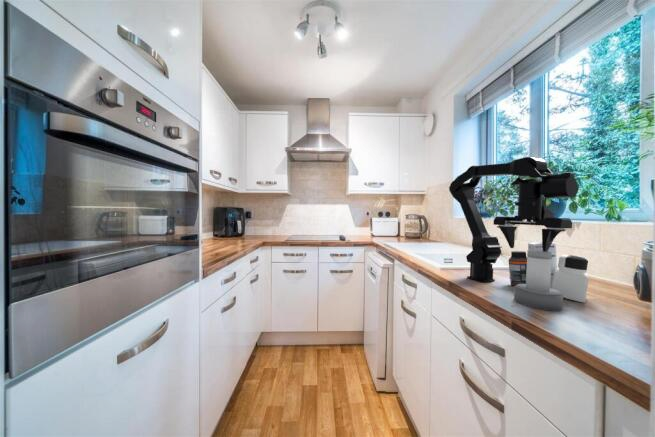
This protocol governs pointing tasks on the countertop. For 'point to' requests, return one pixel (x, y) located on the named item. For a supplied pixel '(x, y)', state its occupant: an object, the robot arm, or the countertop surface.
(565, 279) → the medicine bottle
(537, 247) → the syrup box
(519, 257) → the supplement bottle
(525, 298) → the charcoal stand
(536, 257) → the white and grey cylinder
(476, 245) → the robot arm
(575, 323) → the countertop surface
